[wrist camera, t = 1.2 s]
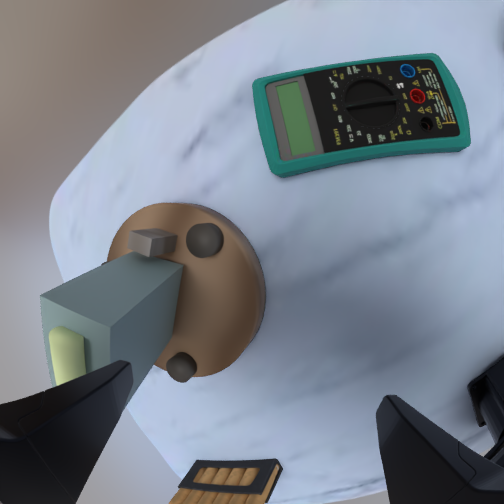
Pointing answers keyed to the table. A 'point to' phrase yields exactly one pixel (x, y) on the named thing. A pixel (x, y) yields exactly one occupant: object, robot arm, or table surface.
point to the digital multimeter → (359, 112)
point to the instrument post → (111, 317)
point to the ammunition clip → (229, 482)
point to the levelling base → (200, 284)
